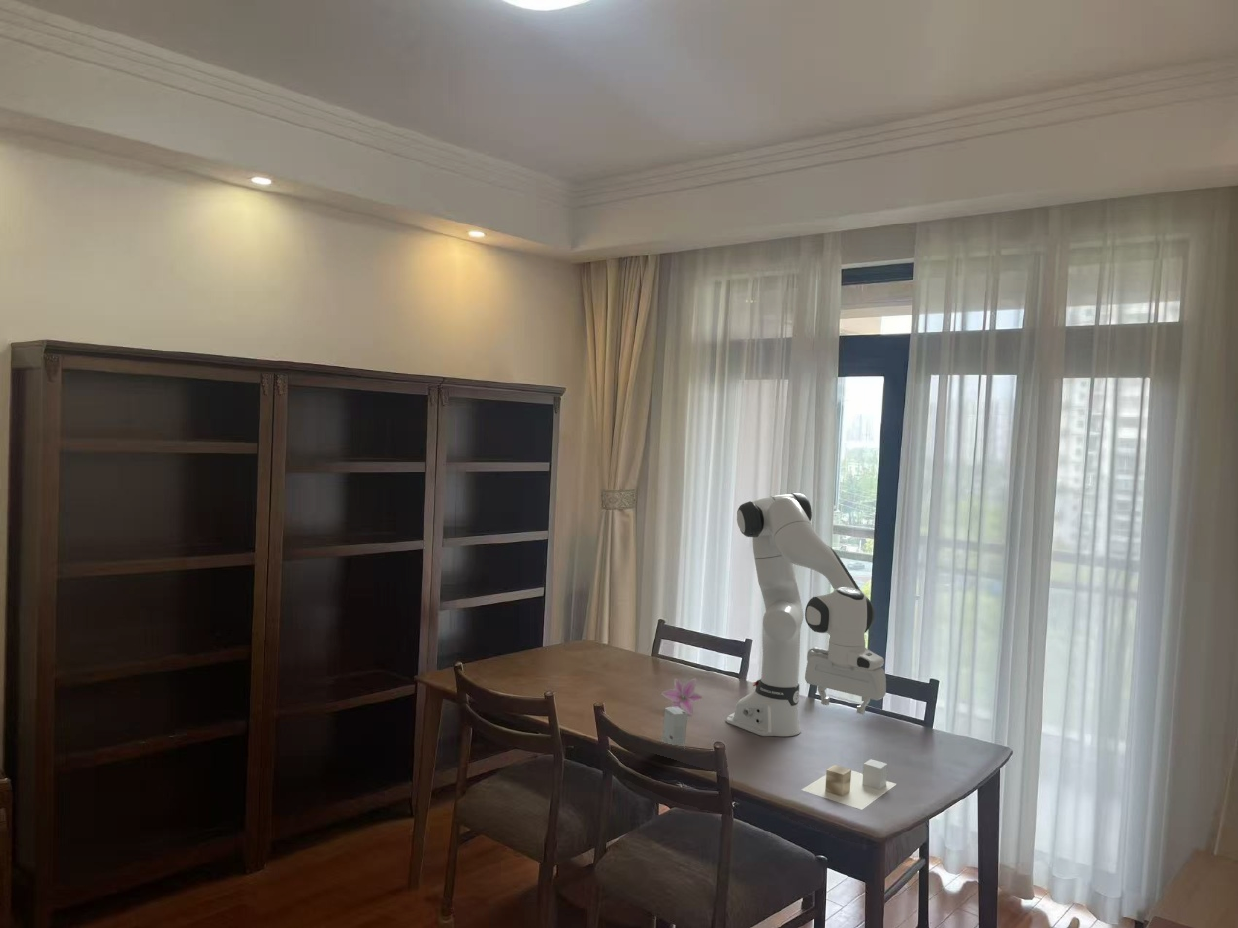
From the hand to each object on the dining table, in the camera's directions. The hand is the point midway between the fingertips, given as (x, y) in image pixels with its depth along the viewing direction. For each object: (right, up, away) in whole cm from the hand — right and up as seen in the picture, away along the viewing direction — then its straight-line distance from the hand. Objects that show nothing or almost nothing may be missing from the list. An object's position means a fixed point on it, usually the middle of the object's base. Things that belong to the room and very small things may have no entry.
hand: (842, 708), depth 219 cm
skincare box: (-41, -18, +21) cm, 50 cm away
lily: (-36, -17, +59) cm, 71 cm away
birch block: (-1, -21, +1) cm, 21 cm away
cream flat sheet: (+3, -21, +4) cm, 22 cm away
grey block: (+10, -21, +6) cm, 24 cm away
